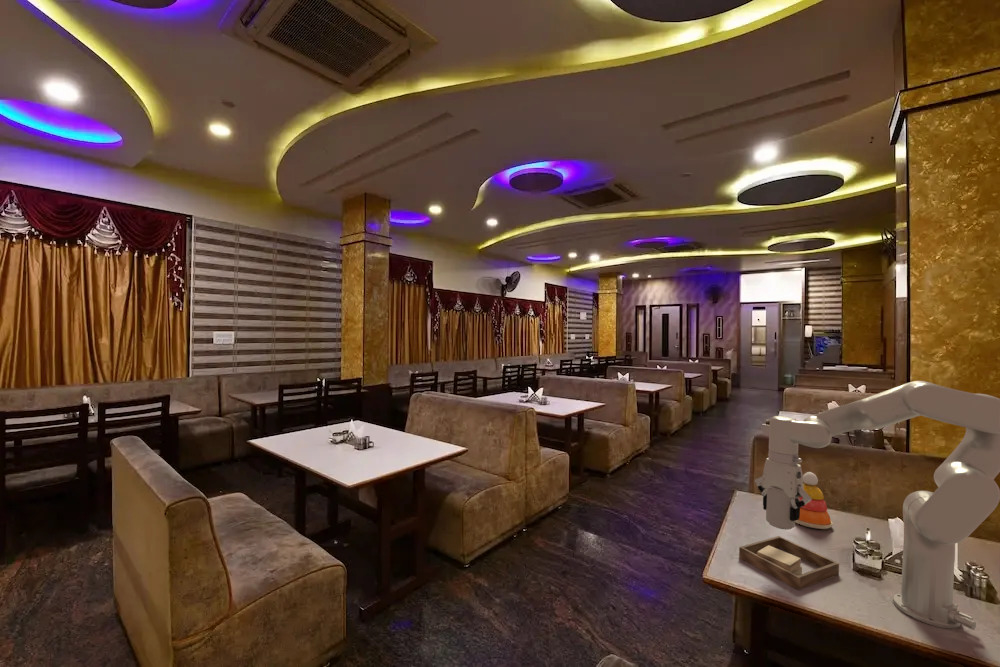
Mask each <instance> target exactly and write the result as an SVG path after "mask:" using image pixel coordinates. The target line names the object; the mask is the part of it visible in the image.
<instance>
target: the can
mask: <svg viewBox="0 0 1000 667" xmlns="http://www.w3.org/2000/svg"><path fill="white" fill-rule="evenodd" d="M770 487H771V488H769V489H767V504H766V510H765V511H766V512H765V520H766V522H768V524H769V525H770V526H772V527H774V528H776V529H780V530H786V531H787V530H789V531H790V530H792V529H793V528H795V527H796V522H795V521H791V520H790V508H791V507H793V506H792V504H791V502H790V498H788V496H787V495H786V494H785V493H784V490H780V489H777V488H774V487H772V486H770Z"/></svg>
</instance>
